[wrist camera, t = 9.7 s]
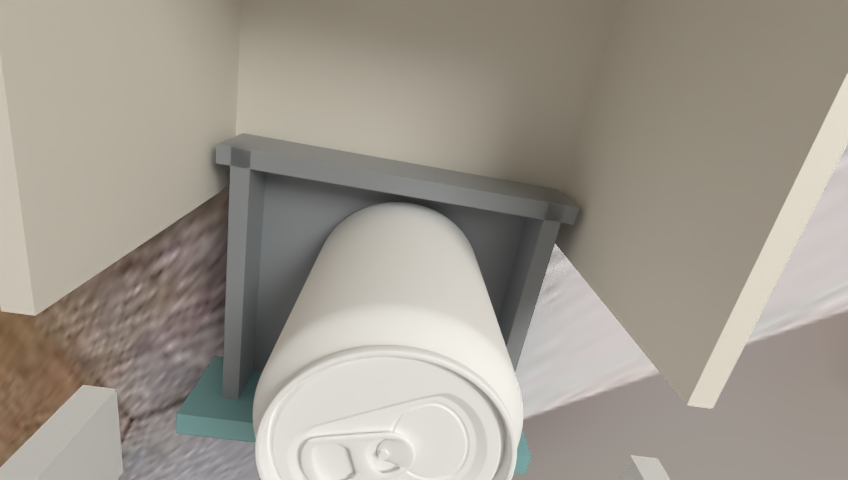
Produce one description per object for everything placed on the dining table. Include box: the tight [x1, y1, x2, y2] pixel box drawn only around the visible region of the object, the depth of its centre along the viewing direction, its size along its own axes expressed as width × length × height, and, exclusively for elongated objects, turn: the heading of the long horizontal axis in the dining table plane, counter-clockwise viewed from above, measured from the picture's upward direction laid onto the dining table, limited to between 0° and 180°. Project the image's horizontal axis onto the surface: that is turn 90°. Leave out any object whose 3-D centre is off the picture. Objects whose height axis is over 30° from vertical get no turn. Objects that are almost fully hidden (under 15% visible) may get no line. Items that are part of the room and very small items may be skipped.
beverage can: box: [253, 202, 523, 480], centre depth 18 cm, size 8×8×12 cm
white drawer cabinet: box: [0, 0, 848, 409], centre depth 16 cm, size 14×18×14 cm
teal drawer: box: [176, 133, 579, 474], centre depth 23 cm, size 14×18×5 cm
